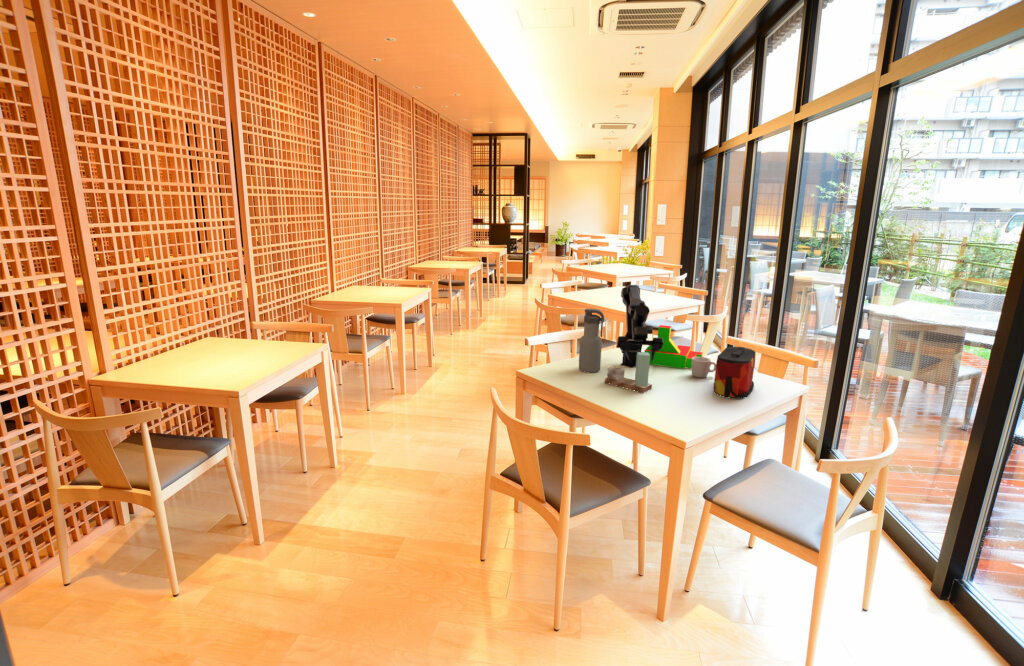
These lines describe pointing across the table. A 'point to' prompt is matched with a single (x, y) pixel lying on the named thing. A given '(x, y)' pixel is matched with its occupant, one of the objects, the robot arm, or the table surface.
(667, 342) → the building blocks toy
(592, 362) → the water bottle
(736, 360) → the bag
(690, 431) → the table surface
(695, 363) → the cup
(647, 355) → the pillar
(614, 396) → the table surface
